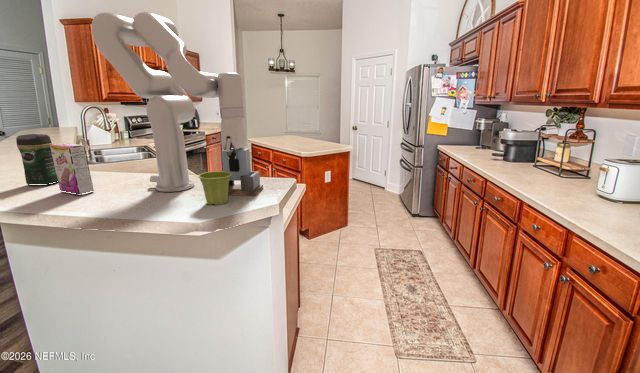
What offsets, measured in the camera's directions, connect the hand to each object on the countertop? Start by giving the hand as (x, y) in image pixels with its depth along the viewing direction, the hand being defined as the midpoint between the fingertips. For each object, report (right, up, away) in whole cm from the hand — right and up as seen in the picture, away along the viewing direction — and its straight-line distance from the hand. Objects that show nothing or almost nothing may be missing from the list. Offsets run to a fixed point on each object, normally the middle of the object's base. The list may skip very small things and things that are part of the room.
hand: (237, 169), depth 109 cm
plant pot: (-4, -11, -9) cm, 15 cm away
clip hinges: (0, -6, +2) cm, 6 cm away
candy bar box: (-55, -8, +1) cm, 55 cm away
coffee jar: (-75, -5, +13) cm, 77 cm away
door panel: (0, -3, +1) cm, 3 cm away
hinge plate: (0, -7, +2) cm, 8 cm away
